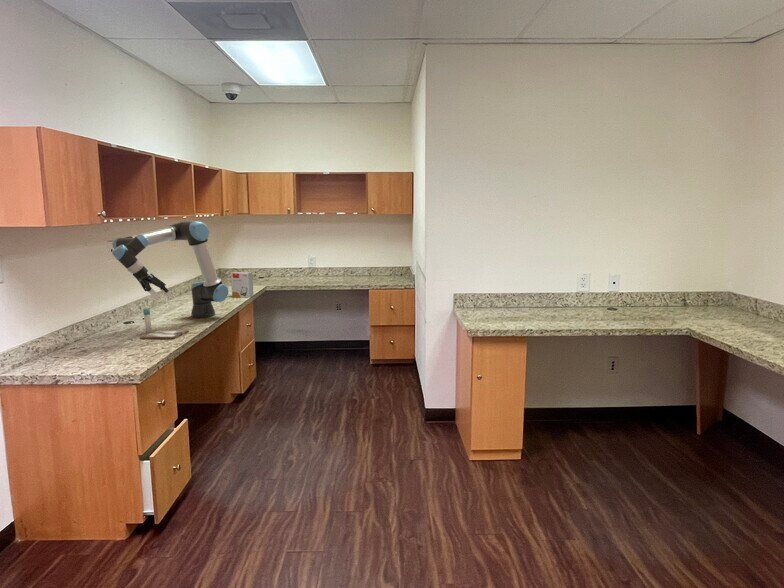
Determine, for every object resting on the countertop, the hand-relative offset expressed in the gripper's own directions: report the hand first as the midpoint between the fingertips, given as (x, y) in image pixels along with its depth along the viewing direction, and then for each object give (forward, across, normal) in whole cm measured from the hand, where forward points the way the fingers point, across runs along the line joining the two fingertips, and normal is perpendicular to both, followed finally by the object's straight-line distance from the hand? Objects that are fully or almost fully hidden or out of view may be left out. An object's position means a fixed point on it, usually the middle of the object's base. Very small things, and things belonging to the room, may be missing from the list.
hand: (164, 297), depth 288 cm
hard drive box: (+65, -64, +76) cm, 119 cm away
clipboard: (+15, 0, -16) cm, 22 cm away
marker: (+12, -15, -15) cm, 25 cm away
